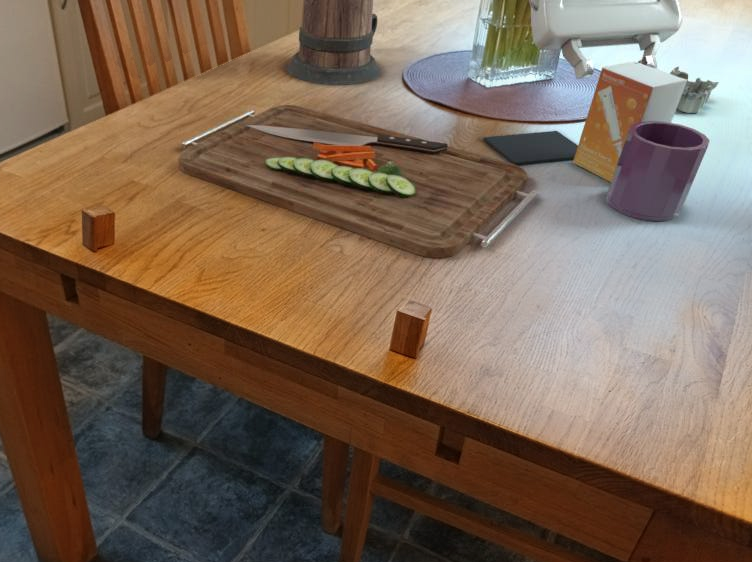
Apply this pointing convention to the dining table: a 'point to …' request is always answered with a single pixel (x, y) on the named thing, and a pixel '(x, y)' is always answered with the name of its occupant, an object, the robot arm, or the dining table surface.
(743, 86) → the dining table surface
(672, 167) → the plum cup
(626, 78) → the small box
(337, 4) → the tankard
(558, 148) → the coaster pad
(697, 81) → the egg carton
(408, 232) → the chopping board
